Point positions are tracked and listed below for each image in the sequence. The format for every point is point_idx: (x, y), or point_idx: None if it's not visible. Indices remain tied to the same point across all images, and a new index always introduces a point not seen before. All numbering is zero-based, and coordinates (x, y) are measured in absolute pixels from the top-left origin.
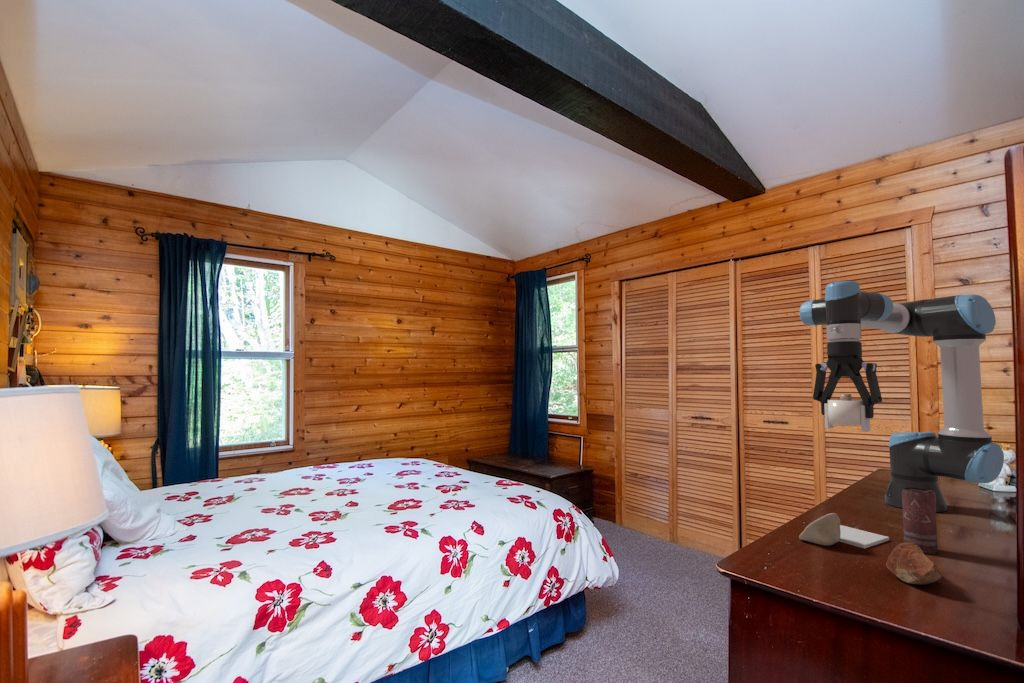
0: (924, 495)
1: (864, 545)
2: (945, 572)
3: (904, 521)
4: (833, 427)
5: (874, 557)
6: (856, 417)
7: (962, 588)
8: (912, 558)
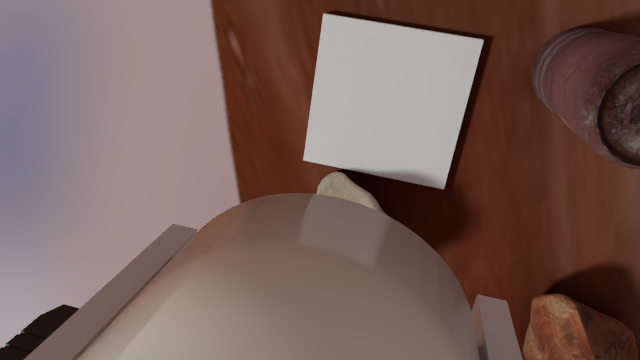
0: None
1: (443, 188)
2: (636, 234)
3: (555, 111)
4: (195, 233)
5: (477, 239)
6: None
7: None
8: None
